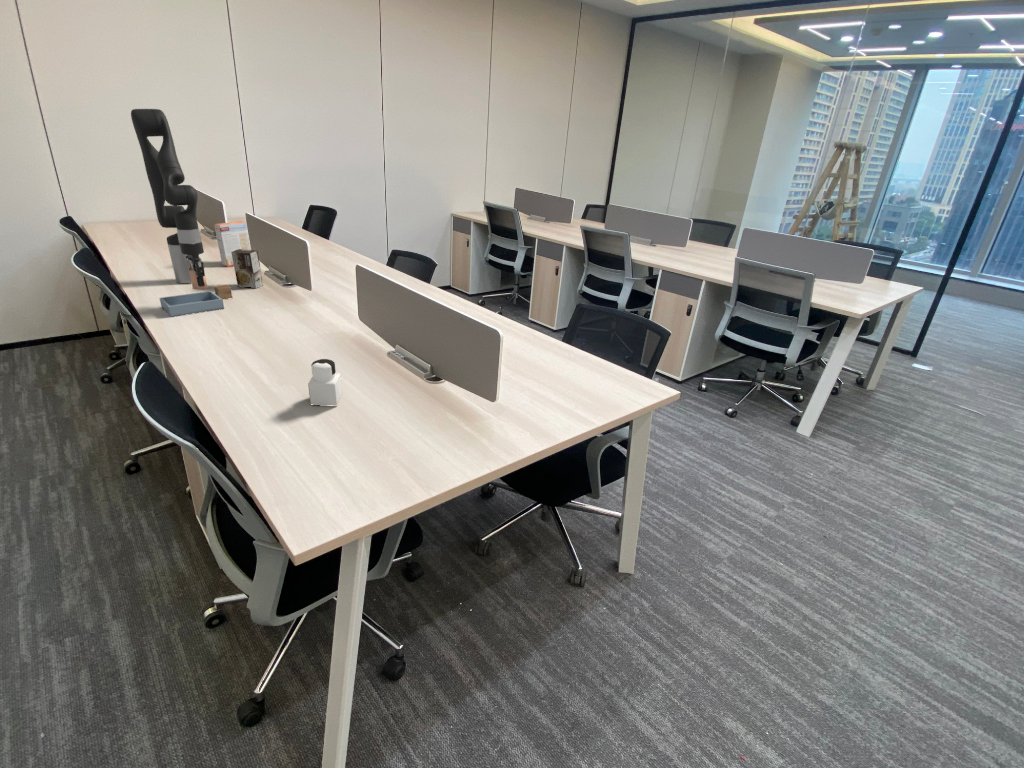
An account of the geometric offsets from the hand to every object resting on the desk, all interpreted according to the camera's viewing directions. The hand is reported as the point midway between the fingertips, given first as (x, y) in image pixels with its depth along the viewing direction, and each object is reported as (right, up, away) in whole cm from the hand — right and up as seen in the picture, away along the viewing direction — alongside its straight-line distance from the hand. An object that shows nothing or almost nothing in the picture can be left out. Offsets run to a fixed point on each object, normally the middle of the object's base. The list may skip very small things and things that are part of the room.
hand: (199, 284), depth 202 cm
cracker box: (-20, +23, +65) cm, 72 cm away
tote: (-3, -9, +2) cm, 10 cm away
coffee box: (+3, +5, +33) cm, 34 cm away
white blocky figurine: (+72, -44, -58) cm, 102 cm away
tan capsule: (0, -1, +1) cm, 1 cm away
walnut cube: (+1, -3, +16) cm, 16 cm away
